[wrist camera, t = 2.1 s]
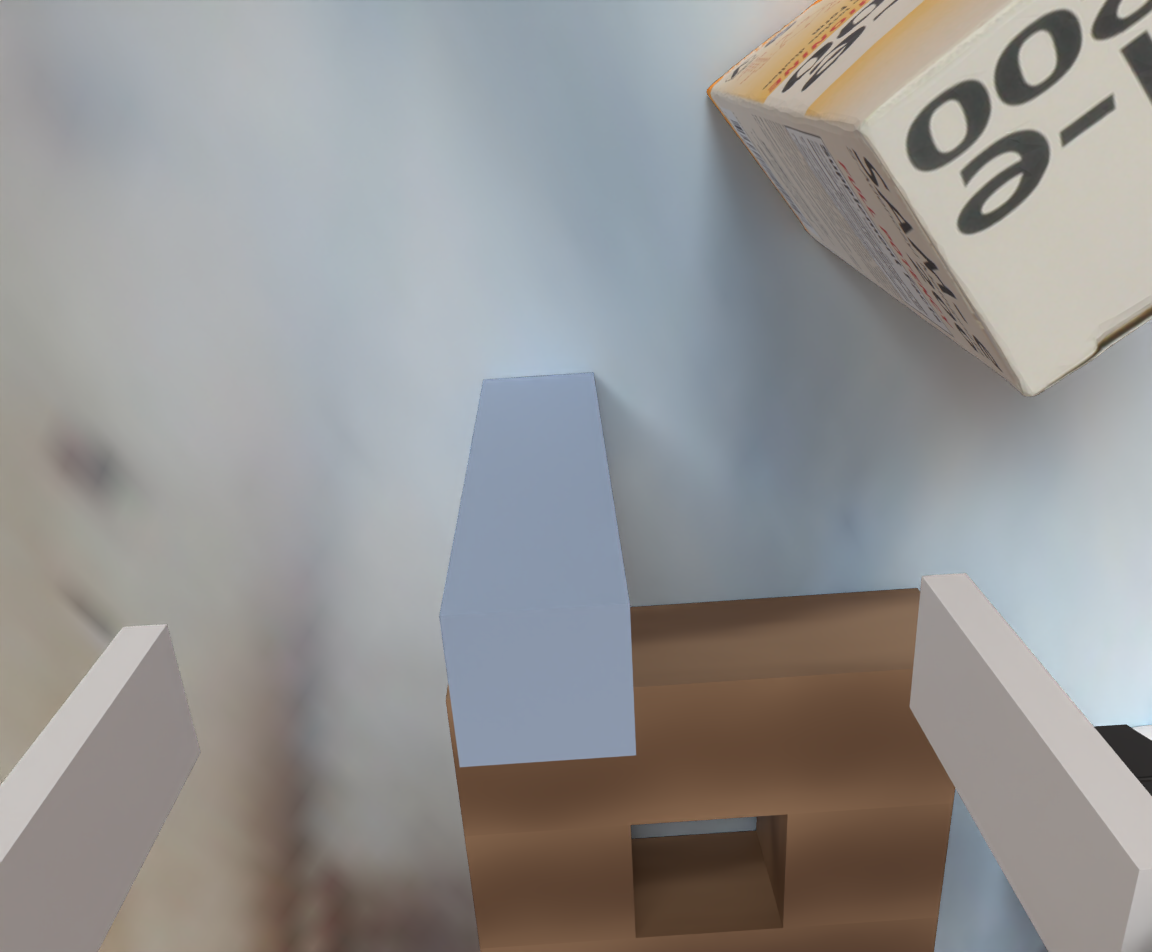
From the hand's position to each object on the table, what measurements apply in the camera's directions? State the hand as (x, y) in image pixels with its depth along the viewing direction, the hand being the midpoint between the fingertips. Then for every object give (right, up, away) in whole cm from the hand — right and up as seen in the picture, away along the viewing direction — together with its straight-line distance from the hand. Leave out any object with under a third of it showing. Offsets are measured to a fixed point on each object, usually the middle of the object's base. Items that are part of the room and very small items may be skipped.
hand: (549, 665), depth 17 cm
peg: (-1, +5, +10) cm, 11 cm away
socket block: (+4, -7, +15) cm, 17 cm away
